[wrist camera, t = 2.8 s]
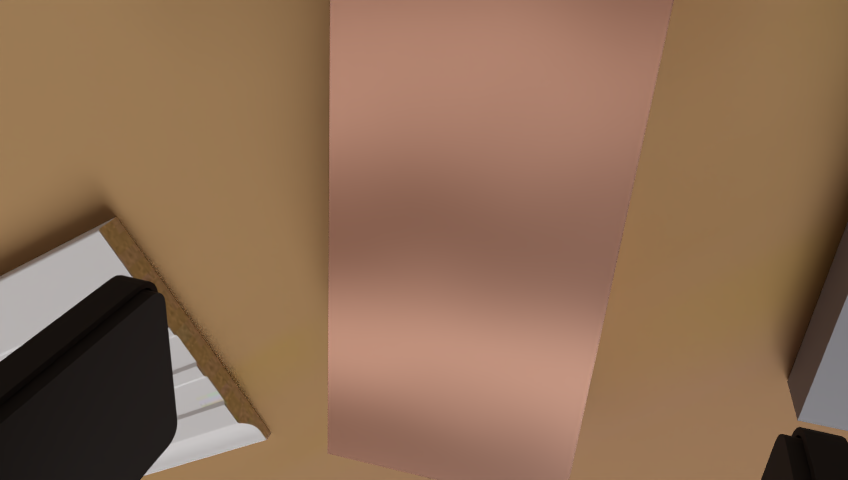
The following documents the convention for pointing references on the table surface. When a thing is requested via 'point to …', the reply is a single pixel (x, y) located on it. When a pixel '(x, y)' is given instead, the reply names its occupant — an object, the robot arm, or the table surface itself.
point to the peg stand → (825, 352)
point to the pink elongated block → (477, 223)
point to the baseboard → (190, 354)
